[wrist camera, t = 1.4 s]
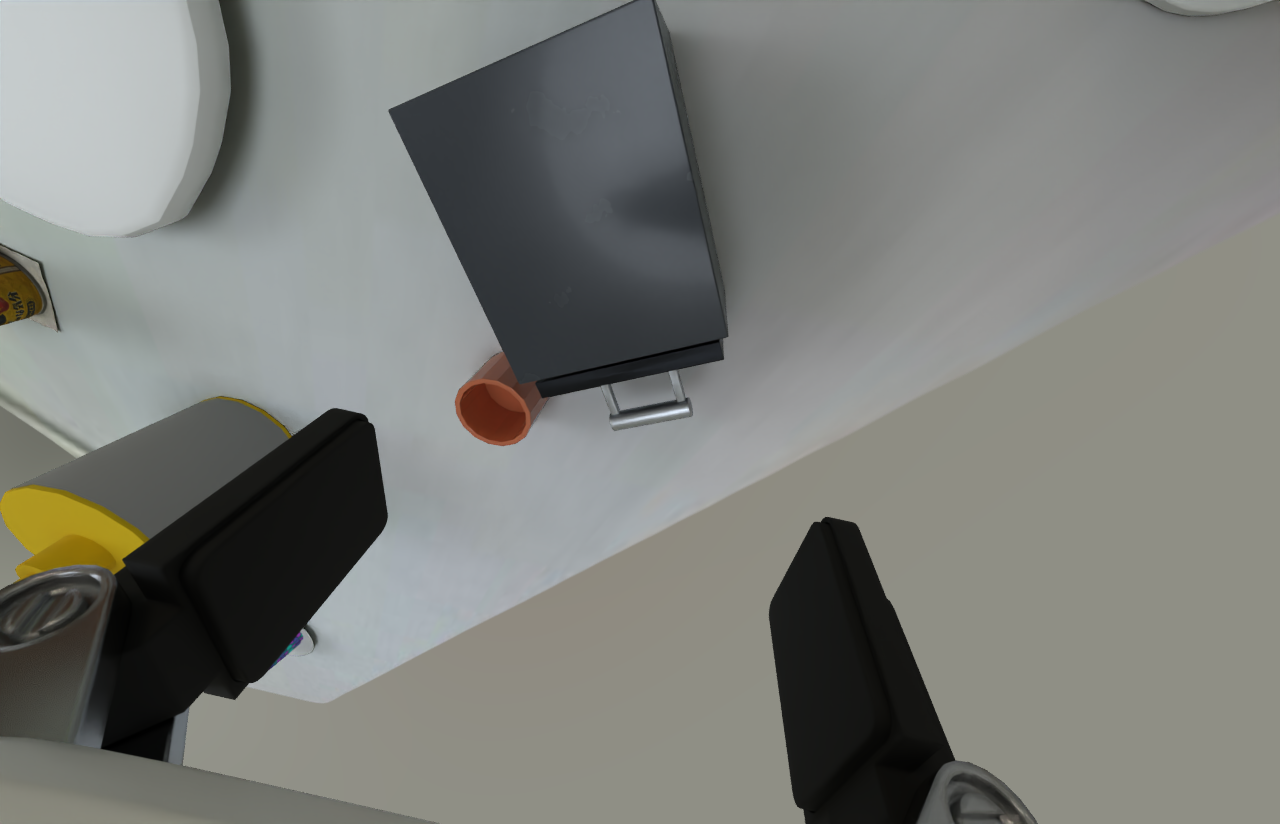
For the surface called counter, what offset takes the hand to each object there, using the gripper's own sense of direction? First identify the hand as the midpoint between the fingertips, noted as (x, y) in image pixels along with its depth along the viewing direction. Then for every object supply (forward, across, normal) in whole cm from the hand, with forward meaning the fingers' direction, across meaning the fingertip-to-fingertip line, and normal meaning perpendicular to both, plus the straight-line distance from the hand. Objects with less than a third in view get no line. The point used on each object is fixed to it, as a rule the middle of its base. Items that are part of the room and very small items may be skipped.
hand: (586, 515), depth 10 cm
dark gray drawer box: (+27, +5, -2) cm, 27 cm away
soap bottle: (+28, +39, +28) cm, 55 cm away
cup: (+27, +11, +13) cm, 32 cm away
